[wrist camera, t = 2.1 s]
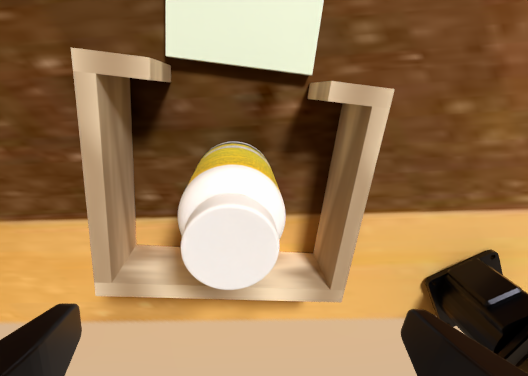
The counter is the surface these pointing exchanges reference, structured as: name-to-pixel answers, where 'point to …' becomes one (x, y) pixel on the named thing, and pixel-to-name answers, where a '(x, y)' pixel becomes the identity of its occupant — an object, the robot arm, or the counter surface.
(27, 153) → the counter surface
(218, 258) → the supplement bottle
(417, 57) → the counter surface
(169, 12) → the pad
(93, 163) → the open frame
